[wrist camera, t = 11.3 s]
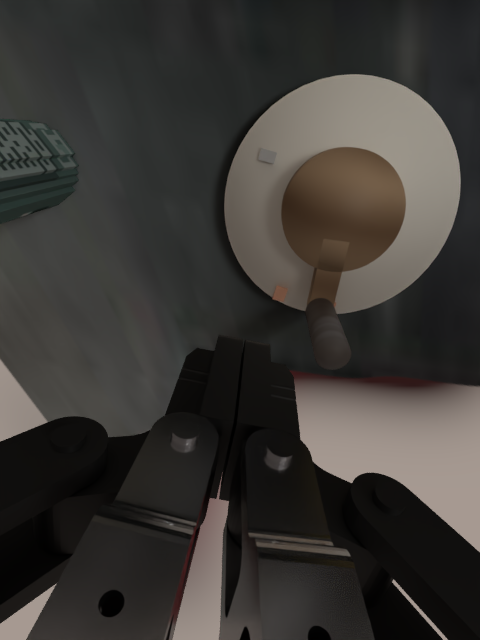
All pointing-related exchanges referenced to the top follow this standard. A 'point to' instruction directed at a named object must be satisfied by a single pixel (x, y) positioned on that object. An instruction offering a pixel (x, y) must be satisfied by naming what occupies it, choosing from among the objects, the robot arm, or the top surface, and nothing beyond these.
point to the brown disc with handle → (339, 231)
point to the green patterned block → (33, 168)
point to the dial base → (327, 133)
